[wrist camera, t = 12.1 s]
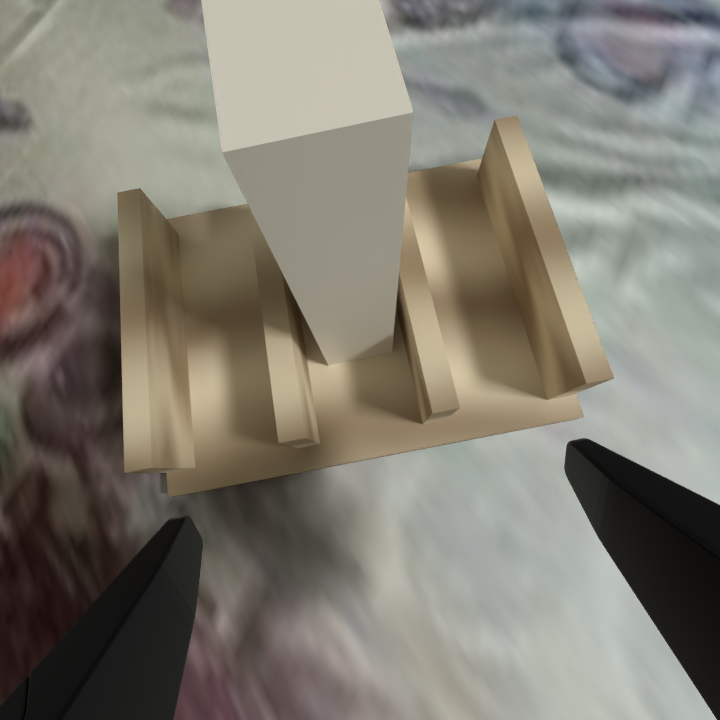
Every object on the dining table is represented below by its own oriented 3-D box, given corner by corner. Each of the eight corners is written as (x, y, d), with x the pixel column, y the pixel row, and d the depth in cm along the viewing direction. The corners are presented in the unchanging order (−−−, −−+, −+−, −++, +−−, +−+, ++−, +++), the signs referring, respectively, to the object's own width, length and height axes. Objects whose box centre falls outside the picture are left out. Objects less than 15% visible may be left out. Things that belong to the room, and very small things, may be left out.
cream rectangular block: (391, 352, 19) (413, 112, 6) (328, 365, 19) (222, 151, 6) (369, 258, 20) (349, -95, 8) (310, 270, 20) (192, -63, 8)
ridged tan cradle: (573, 419, 18) (632, 403, 14) (178, 496, 18) (116, 503, 14) (490, 169, 22) (517, 96, 18) (163, 232, 22) (110, 175, 18)
